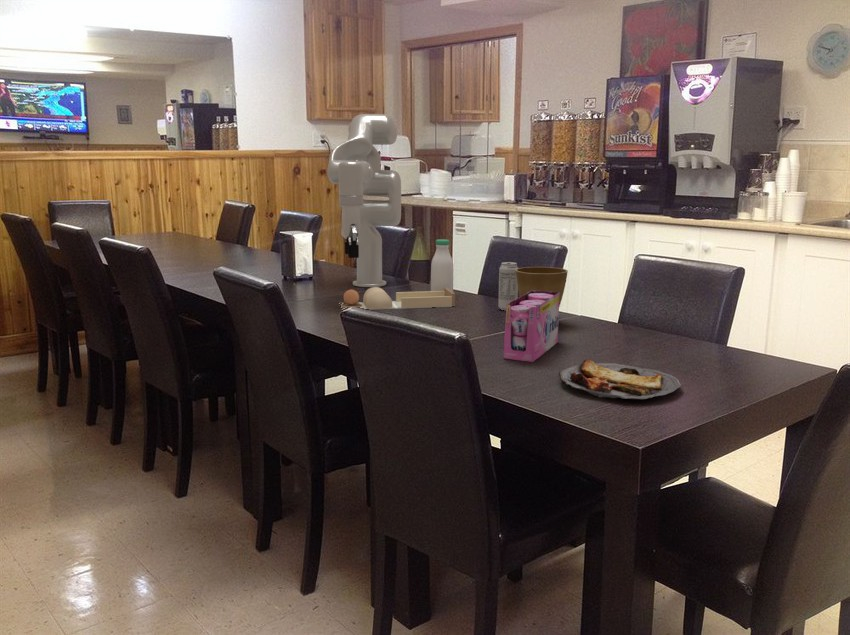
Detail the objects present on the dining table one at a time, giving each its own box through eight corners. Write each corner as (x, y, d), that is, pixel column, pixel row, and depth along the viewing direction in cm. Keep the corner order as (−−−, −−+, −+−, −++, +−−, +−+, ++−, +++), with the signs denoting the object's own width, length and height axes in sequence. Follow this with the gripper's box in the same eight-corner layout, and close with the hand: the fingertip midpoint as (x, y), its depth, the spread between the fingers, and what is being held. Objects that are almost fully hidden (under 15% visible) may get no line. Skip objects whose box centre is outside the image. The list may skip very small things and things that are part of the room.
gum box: (532, 364, 183) (534, 308, 180) (500, 360, 186) (502, 305, 183) (558, 342, 204) (560, 291, 201) (529, 339, 207) (531, 289, 204)
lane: (339, 311, 253) (338, 287, 251) (446, 308, 260) (447, 284, 259) (342, 318, 242) (342, 293, 241) (454, 314, 250) (455, 290, 248)
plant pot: (573, 322, 228) (576, 268, 224) (551, 331, 216) (554, 275, 212) (528, 316, 236) (530, 264, 233) (505, 324, 224) (506, 270, 220)
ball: (342, 303, 250) (342, 288, 249) (358, 303, 251) (358, 288, 250) (344, 306, 245) (344, 291, 244) (360, 306, 246) (359, 290, 245)
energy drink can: (519, 308, 247) (521, 262, 244) (513, 312, 241) (515, 265, 238) (501, 307, 249) (503, 261, 246) (495, 310, 244) (496, 263, 241)
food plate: (541, 389, 163) (542, 373, 162) (583, 365, 182) (584, 351, 181) (658, 414, 149) (660, 397, 149) (691, 386, 168) (692, 371, 168)
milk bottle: (456, 298, 263) (457, 240, 259) (435, 300, 260) (436, 241, 256) (447, 295, 270) (448, 238, 266) (427, 296, 267) (427, 238, 263)
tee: (339, 304, 250) (339, 300, 250) (360, 303, 252) (360, 300, 252) (341, 308, 244) (341, 304, 244) (363, 307, 245) (363, 304, 245)
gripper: (336, 200, 248) (337, 252, 252) (341, 203, 232) (342, 259, 235) (359, 199, 250) (359, 252, 253) (366, 203, 233) (367, 259, 237)
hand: (351, 255), depth 244 cm, fingers open, 9 cm apart
